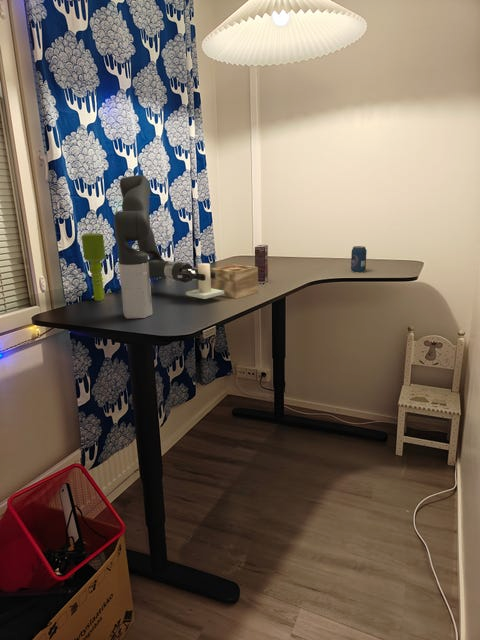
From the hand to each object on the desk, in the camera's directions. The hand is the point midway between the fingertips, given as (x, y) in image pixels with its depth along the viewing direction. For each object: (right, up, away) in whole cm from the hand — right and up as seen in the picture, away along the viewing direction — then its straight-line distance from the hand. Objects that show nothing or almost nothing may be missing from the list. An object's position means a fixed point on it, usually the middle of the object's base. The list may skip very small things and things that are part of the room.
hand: (209, 276), depth 161 cm
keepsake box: (+9, -5, +15) cm, 18 cm away
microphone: (-43, -8, +11) cm, 45 cm away
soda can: (+68, +7, +56) cm, 88 cm away
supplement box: (+20, +1, +37) cm, 42 cm away
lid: (-2, -6, +4) cm, 8 cm away
